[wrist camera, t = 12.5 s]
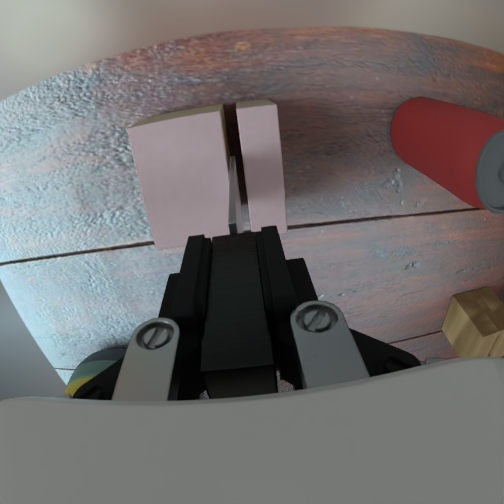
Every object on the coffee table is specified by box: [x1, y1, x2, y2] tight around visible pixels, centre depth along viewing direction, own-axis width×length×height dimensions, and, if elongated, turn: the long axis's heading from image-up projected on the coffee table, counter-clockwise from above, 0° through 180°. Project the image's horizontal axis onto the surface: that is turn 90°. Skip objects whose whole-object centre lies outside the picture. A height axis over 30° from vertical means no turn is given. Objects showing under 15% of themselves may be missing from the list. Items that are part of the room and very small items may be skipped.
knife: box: [199, 156, 278, 399], centre depth 14 cm, size 2×3×16 cm, turn 6°
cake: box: [127, 104, 230, 250], centre depth 23 cm, size 6×9×6 cm, turn 6°
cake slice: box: [236, 99, 287, 234], centre depth 23 cm, size 2×9×6 cm, turn 6°
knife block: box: [442, 287, 504, 358], centre depth 33 cm, size 7×6×8 cm
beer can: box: [390, 97, 504, 213], centre depth 20 cm, size 7×7×12 cm
